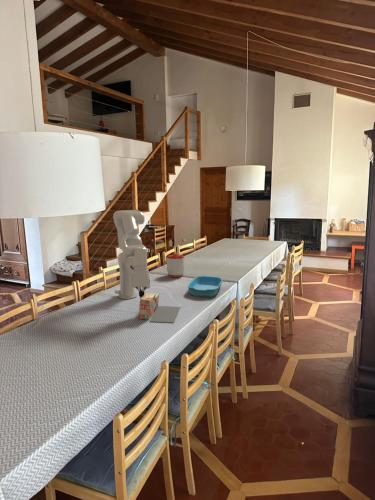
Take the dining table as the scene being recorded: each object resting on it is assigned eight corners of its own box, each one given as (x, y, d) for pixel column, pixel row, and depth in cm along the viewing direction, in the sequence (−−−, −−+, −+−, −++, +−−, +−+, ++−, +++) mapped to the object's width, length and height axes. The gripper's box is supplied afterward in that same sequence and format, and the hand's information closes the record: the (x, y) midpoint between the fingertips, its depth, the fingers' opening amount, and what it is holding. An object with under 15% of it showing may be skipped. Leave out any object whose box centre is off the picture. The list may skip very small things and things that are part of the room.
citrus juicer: (166, 273, 317) (166, 251, 313) (185, 274, 314) (185, 251, 311) (162, 278, 302) (162, 254, 298) (183, 278, 299) (183, 255, 295)
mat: (149, 321, 207) (149, 321, 207) (158, 306, 233) (158, 305, 233) (173, 323, 206) (173, 322, 206) (180, 307, 231) (180, 306, 231)
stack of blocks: (148, 306, 232) (150, 288, 229) (158, 307, 231) (159, 289, 228) (138, 318, 211) (139, 298, 209) (148, 320, 210) (150, 300, 208)
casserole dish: (216, 300, 246) (216, 290, 245) (184, 297, 252) (184, 287, 250) (224, 285, 281) (224, 276, 280) (196, 283, 287) (196, 274, 285)
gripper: (126, 268, 213) (128, 298, 216) (151, 269, 211) (152, 299, 214) (130, 265, 220) (131, 294, 223) (154, 266, 218) (155, 295, 221)
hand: (141, 297), depth 219 cm, fingers closed
